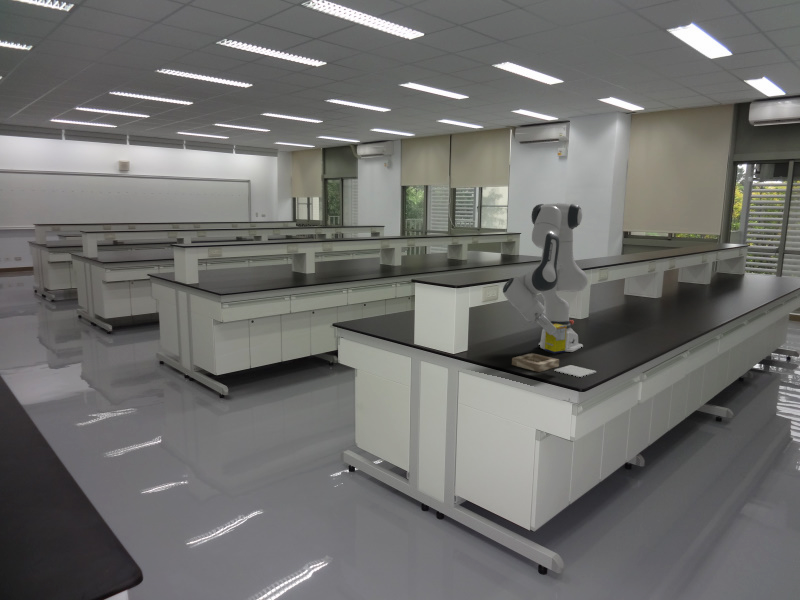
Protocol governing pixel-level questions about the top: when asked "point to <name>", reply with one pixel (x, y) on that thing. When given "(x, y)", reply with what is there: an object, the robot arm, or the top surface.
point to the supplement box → (553, 343)
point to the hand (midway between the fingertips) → (557, 336)
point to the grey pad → (575, 371)
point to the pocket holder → (535, 362)
